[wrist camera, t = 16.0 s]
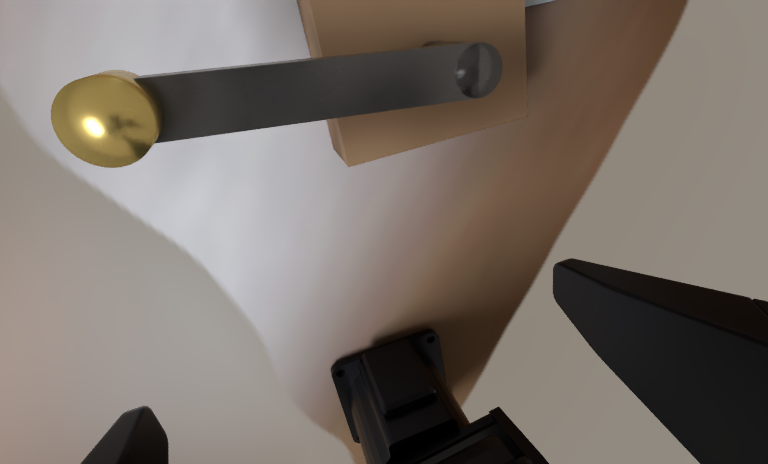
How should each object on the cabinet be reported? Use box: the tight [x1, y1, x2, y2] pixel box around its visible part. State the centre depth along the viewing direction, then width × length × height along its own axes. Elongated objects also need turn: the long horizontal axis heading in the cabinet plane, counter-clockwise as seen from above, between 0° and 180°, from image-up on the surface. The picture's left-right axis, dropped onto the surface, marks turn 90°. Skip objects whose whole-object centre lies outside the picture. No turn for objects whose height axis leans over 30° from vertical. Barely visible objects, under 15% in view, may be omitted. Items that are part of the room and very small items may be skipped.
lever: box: [51, 41, 503, 168], centre depth 13 cm, size 12×2×5 cm, turn 95°
